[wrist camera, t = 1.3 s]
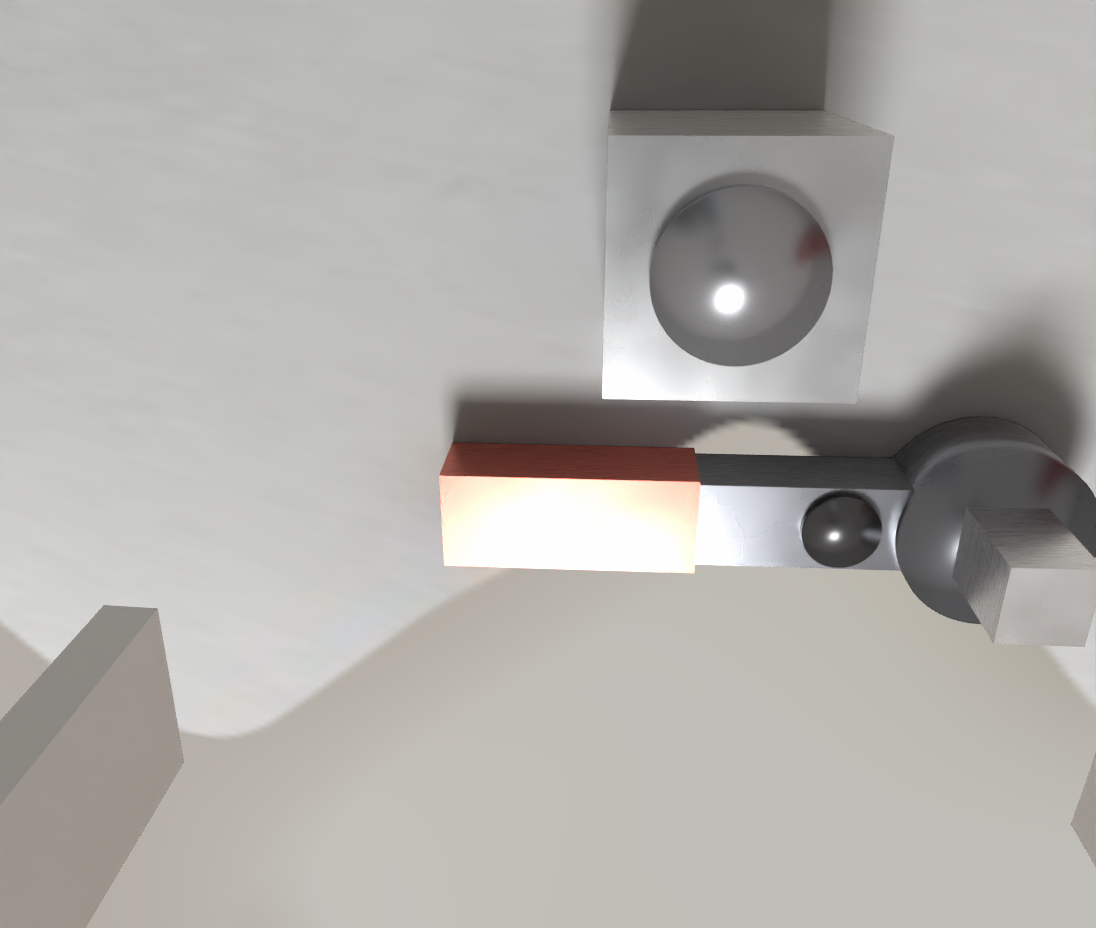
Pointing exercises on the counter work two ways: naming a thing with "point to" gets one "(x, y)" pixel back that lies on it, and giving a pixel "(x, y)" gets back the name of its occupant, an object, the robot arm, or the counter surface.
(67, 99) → the counter surface
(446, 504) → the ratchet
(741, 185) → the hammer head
